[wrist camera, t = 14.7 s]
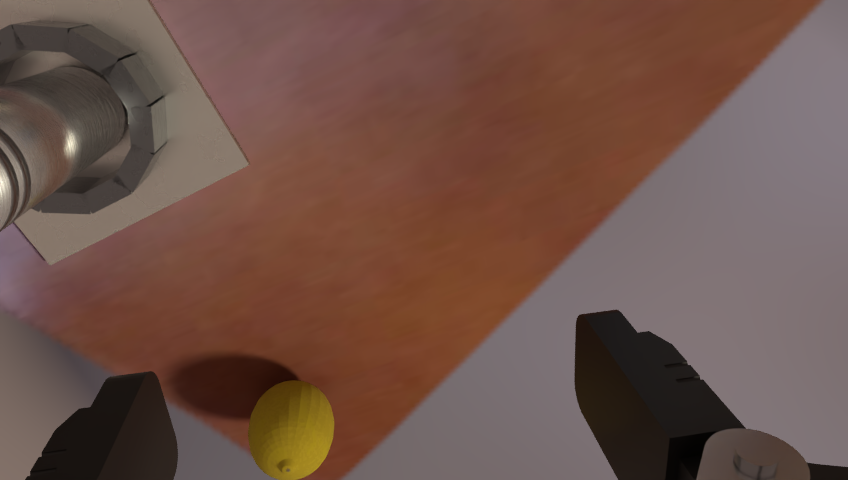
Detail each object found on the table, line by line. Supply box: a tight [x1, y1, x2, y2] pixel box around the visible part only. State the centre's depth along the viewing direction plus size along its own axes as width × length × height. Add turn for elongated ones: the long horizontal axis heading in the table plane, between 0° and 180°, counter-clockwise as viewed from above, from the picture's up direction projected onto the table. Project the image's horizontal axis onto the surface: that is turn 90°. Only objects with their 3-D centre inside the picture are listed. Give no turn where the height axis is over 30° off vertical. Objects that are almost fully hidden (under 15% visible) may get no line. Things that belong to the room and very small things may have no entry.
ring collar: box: [0, 0, 250, 265], centre depth 35 cm, size 14×14×4 cm
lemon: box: [248, 380, 334, 480], centre depth 42 cm, size 6×6×8 cm
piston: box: [0, 67, 125, 231], centre depth 30 cm, size 5×5×14 cm
